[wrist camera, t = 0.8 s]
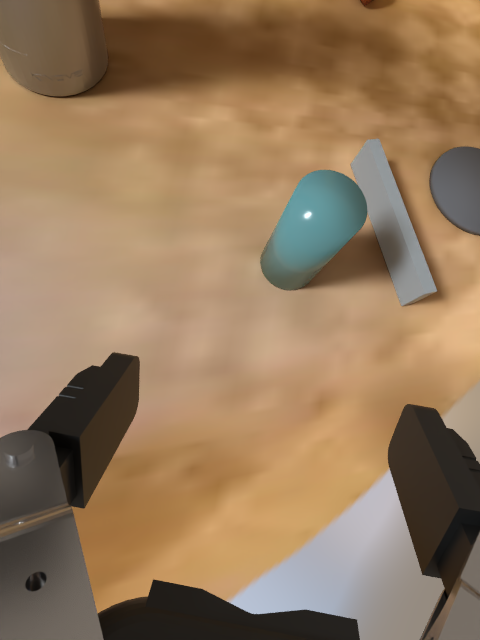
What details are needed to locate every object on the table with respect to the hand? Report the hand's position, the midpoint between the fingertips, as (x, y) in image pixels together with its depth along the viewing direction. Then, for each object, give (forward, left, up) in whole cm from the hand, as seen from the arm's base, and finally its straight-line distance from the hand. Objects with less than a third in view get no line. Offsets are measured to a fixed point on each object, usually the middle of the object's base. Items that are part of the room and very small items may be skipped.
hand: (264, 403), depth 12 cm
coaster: (-15, +32, -20) cm, 40 cm away
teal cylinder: (-11, +10, -20) cm, 25 cm away
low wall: (-13, +20, -20) cm, 31 cm away
